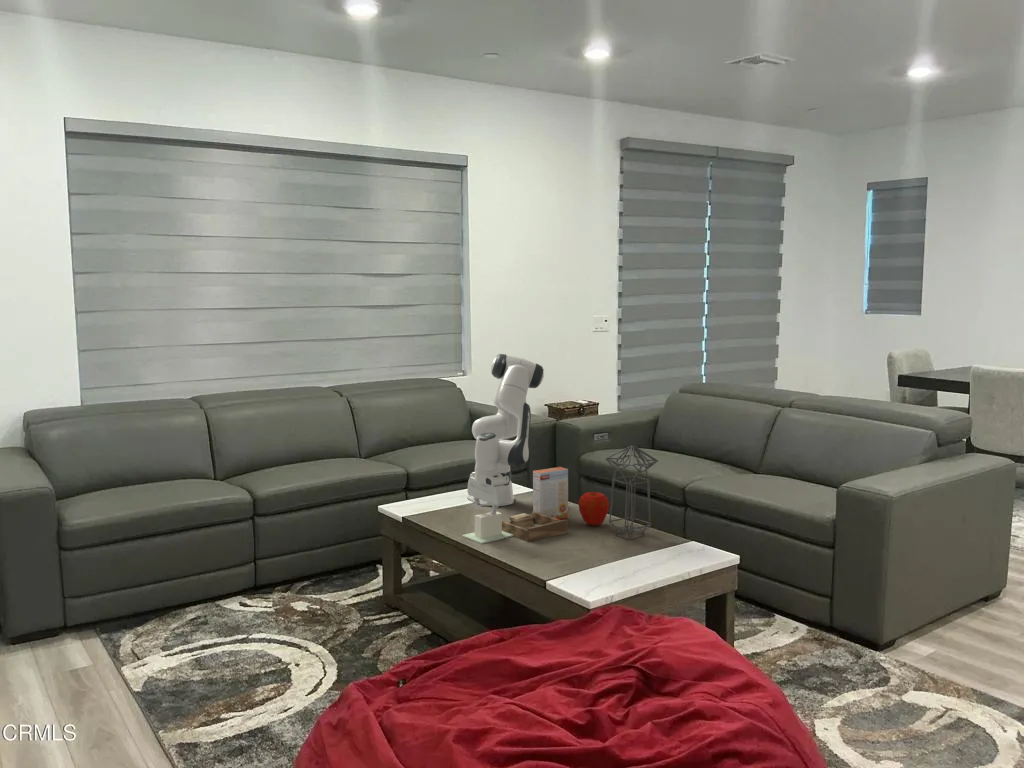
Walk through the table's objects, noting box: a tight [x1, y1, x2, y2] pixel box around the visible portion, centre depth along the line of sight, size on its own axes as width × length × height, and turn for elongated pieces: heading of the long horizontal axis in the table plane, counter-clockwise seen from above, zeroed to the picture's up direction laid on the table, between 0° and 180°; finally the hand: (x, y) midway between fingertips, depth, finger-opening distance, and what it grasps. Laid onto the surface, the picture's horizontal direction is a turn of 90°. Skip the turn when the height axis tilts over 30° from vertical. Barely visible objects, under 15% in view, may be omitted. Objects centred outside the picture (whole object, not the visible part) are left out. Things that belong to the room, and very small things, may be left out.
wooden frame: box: [502, 511, 569, 543], centre depth 336 cm, size 20×20×5 cm
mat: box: [461, 531, 514, 545], centre depth 329 cm, size 12×16×1 cm
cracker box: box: [532, 466, 569, 520], centre depth 352 cm, size 14×6×21 cm, turn 122°
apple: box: [577, 490, 611, 527], centre depth 344 cm, size 12×12×14 cm
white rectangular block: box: [474, 511, 503, 538], centre depth 329 cm, size 4×10×8 cm, turn 129°
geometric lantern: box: [605, 445, 659, 540], centre depth 329 cm, size 16×16×35 cm
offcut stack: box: [508, 512, 534, 529], centre depth 341 cm, size 4×10×5 cm, turn 134°
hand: (485, 511), depth 328 cm, fingers open, 8 cm apart
